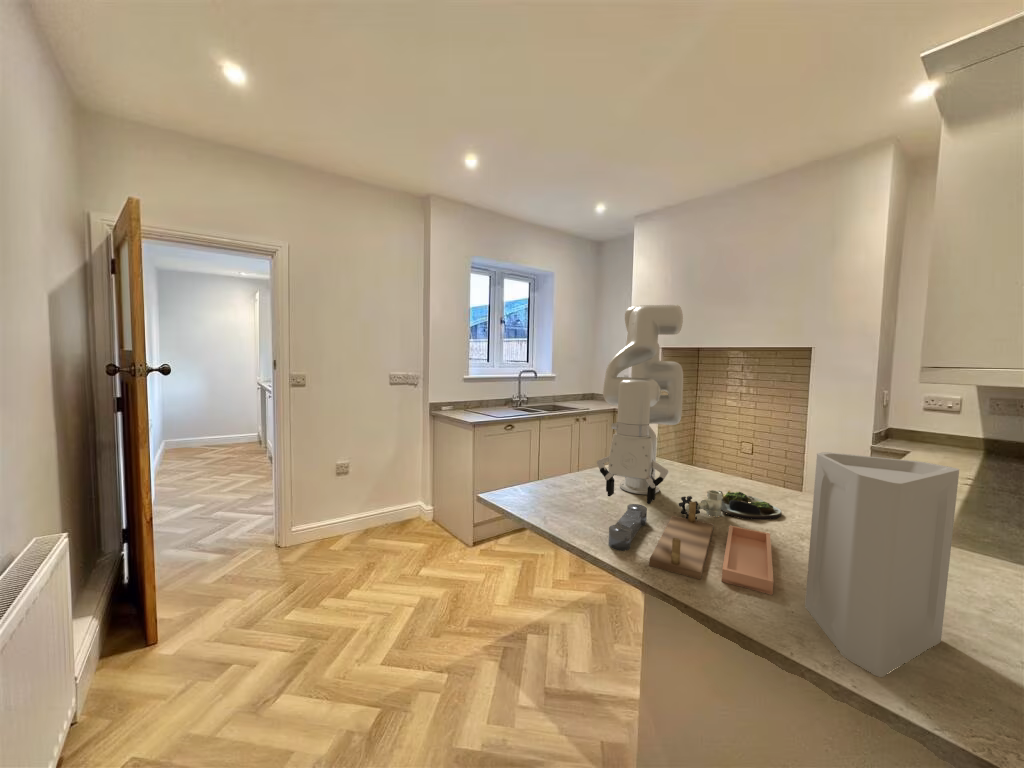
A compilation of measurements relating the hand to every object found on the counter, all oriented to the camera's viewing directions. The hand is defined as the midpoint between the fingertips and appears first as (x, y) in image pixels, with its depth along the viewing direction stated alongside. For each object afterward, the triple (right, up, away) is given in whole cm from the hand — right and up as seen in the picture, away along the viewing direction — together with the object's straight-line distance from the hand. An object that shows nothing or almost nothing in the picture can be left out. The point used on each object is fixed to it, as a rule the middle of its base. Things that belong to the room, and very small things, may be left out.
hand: (629, 498), depth 103 cm
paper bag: (+28, -13, -34) cm, 46 cm away
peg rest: (+11, -10, -5) cm, 16 cm away
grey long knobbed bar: (0, -9, +1) cm, 9 cm away
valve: (+24, -9, +13) cm, 28 cm away
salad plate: (+38, -9, +19) cm, 44 cm away
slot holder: (+22, -10, -12) cm, 27 cm away
